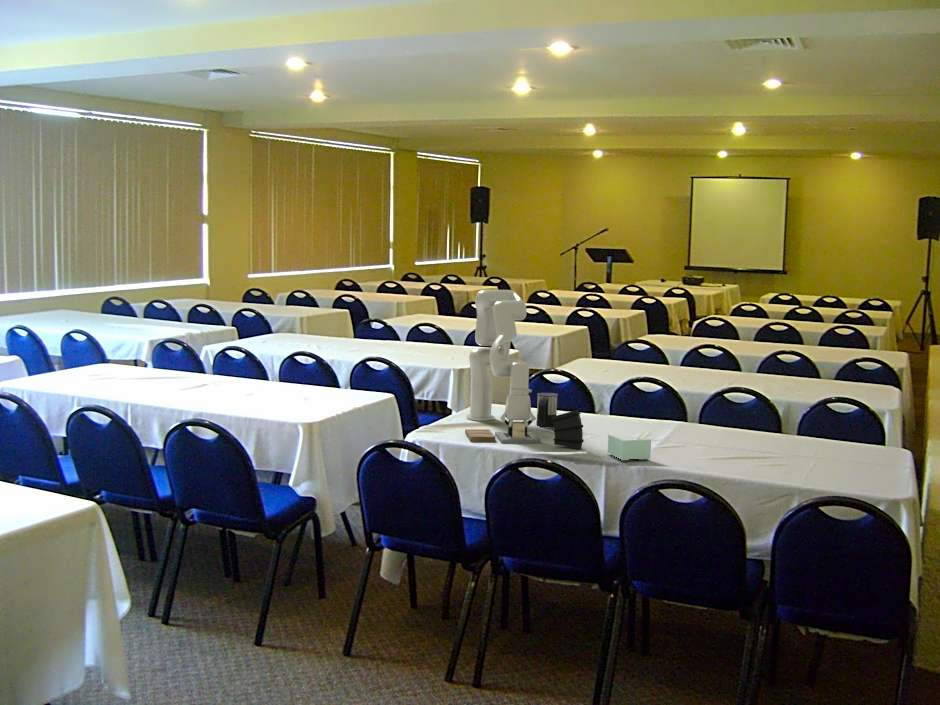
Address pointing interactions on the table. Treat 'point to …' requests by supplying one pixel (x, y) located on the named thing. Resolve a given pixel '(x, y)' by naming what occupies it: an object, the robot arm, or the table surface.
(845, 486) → the table surface
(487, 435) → the walnut board
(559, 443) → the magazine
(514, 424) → the maple block
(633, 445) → the right angle wall
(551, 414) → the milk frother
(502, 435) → the pocket plate
